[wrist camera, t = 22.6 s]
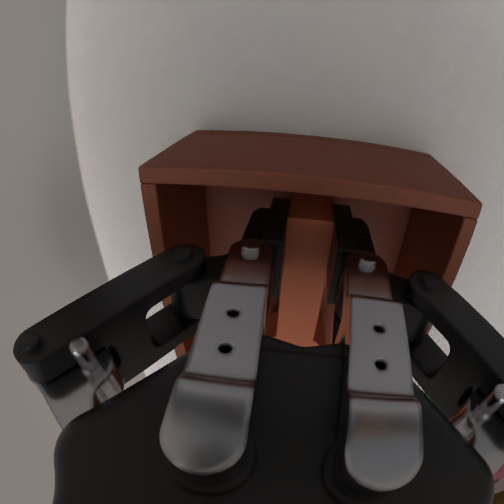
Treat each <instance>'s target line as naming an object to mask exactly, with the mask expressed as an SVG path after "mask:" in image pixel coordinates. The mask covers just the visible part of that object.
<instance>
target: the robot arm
mask: <svg viewBox="0 0 504 504" xmlns="http://www.w3.org/2000/svg"><path fill="white" fill-rule="evenodd" d="M290 201H291V199H287V198H276V197H273V200H272V203H271V206H270V208H260V207H259V208H258V209H257V210H255V211H254V212H252V215H251V217H250V220H249V222H248V225H247V227H246V229H245V232H244V234H243V237H242V239H241V240H239V241H237V242H235V243H234V244H232V245H231V247H230V249H229V252H228V254H225V255H220V256H210V257H205V251H204V250H203V249H202V248H201V247H200V246H198V245H194V244H180V245H176V246H173V247H171V248H169V249H167V250H165V251H163V252H162V253H160V254H158V255H156V256H154V257H152V258H150V259H149V260H147V261H145V262H143V263H141V264H139V265H137V266H136V267H134V268H132V269H130V270H128V271H127V272H125V273H123V274H121V275H119V276H118V277H116V278H114V279H112V280H110V281H109V282H107V283H105V284H103V285H101V286H100V287H98V288H96V289H94V290H93V291H91V292H89V293H87V294H86V295H84V296H82V297H81V298H79V299H77V300H75V301H73V302H72V303H70V304H68V305H67V306H65V307H63V308H62V309H60V310H58V311H57V312H55V313H53V314H51V315H50V316H48V317H46V318H45V319H43V320H41V321H40V322H38V323H36V324H35V325H33V326H31V327H30V328H28V329H27V330H25V331H24V332H23V333H21V334H20V336H19V337H18V338H17V340H16V342H15V344H14V348H13V353H14V356H15V358H16V359H17V361H18V362H19V364H20V365H21V366H22V368H23V369H24V370H25V372H26V373H27V375H28V377H29V378H30V380H31V381H32V382H33V384H34V385H35V386H36V387H37V388H38V390H39V391H40V392H41V393H42V394H43V396H44V398H45V400H46V402H47V404H48V405H49V407H50V409H51V411H52V413H53V415H54V416H55V418H56V419H57V421H58V423H59V425H60V427H61V428H62V430H63V431H62V432H61V433H60V435H59V437H58V440H57V442H56V446H55V450H54V468H55V490H54V499H53V504H492V503H493V498H494V489H495V488H494V479H493V475H494V474H495V473H496V472H497V471H498V470H499V469H500V468H501V466H502V465H503V464H504V338H503V337H502V336H501V335H500V334H499V333H498V332H497V331H496V330H495V329H494V327H493V326H492V325H491V324H490V323H489V322H488V321H487V320H486V319H485V318H484V317H482V316H481V315H480V314H479V313H478V312H477V311H476V310H475V309H474V308H473V307H472V306H471V305H470V304H469V303H468V302H467V301H466V300H465V299H464V298H463V297H462V296H460V295H459V294H458V293H457V292H456V291H455V290H454V289H453V288H452V287H451V286H450V285H448V284H447V283H446V282H445V281H444V280H443V279H442V278H441V277H439V276H438V275H436V274H435V273H433V272H430V271H427V270H415V271H413V272H412V273H411V274H410V276H409V279H406V278H403V277H400V276H397V275H394V274H392V273H390V272H388V270H387V265H386V263H385V261H384V260H383V259H382V258H381V257H380V256H378V255H376V252H375V249H374V245H373V241H372V239H371V234H370V231H369V227H368V225H367V224H366V223H365V222H364V221H363V220H362V219H361V218H354V217H353V216H352V212H351V208H350V205H342V204H332V205H333V213H334V221H335V223H334V230H333V236H332V242H331V248H330V254H329V259H328V265H327V304H335V309H334V313H333V317H332V325H331V337H330V344H328V345H320V346H310V347H301V346H297V345H294V344H291V343H288V342H285V341H282V340H279V339H276V338H273V337H270V336H267V335H266V331H267V321H268V312H269V306H270V304H271V300H272V297H273V298H278V297H279V291H280V285H281V279H282V273H283V267H284V256H285V244H286V232H287V219H288V212H289V207H290ZM169 296H171V301H172V303H171V304H169V305H167V306H166V307H164V308H163V309H161V310H160V311H158V312H157V313H155V314H154V315H152V316H150V317H149V318H147V319H146V315H147V312H148V311H149V310H150V308H152V307H153V306H154V305H156V304H157V303H159V302H161V301H162V300H164V299H165V298H167V297H169ZM431 323H432V324H433V325H434V326H435V328H436V329H437V330H438V331H439V332H440V333H441V334H442V335H443V336H444V337H445V338H446V339H447V341H448V342H449V345H450V353H449V355H448V356H447V355H446V354H445V353H444V352H443V351H442V350H441V349H440V347H439V346H438V345H437V344H436V343H435V342H434V341H433V340H432V339H431V337H430V336H429V335H428V334H427V333H426V332H427V330H428V328H429V327H430V325H431ZM195 333H196V334H195ZM194 334H195V337H194V340H193V343H192V346H191V349H190V351H189V352H187V353H185V354H184V355H182V356H180V357H179V358H177V359H176V360H174V361H172V362H171V363H169V364H167V365H166V366H164V367H162V368H161V369H159V370H157V371H156V372H154V373H152V374H151V375H149V376H147V377H146V378H144V379H142V380H141V381H139V382H137V383H135V384H134V385H132V386H130V387H129V388H127V389H126V390H123V389H124V384H125V383H127V382H128V381H130V380H131V379H132V378H134V377H135V376H137V375H138V374H139V373H141V372H142V371H144V370H145V369H147V368H148V367H149V366H151V365H152V364H154V363H155V362H156V361H158V360H159V359H161V358H162V357H163V356H165V355H166V354H167V353H169V352H170V351H172V350H173V349H174V348H176V347H177V346H179V345H180V344H181V343H183V342H184V341H185V340H187V339H188V338H189V337H191V336H192V335H194ZM412 376H413V377H414V379H415V380H416V381H417V382H418V384H419V385H420V386H421V387H422V389H423V390H424V391H425V393H426V394H427V395H428V396H429V398H430V399H431V400H432V401H431V400H430V399H429V398H428V397H427V396H426V395H425V394H424V393H423V391H422V390H421V389H420V388H419V387H418V386H417V385H416V384H415V383H414V382H413V379H412Z"/></svg>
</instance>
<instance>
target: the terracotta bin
mask: <svg viewBox="0 0 504 504" xmlns="http://www.w3.org/2000/svg"><path fill="white" fill-rule="evenodd" d="M139 176H140V182H141V183H142V184H141V190H142V197H143V204H144V210H145V216H146V222H147V228H148V233H149V239H150V244H151V250H152V255H153V257H154V256H156V255H158V254H160V253H162V252H163V251H165V250H167V249H169V248H171V247H173V246H176V245H180V244H194V245H198V246H200V247H201V248H202V249H203V250H204V251H205V257H210V256H220V255H225V254H228V252H229V249H230V247H231V245H232V244H234V243H235V242H237V241H239V240H241V239H242V237H243V234H244V232H245V229H246V227H247V225H248V222H249V220H250V217H251V215H252V212H254V211H255V210H257V209H258V208H259V207H260V208H270V206H271V203H272V200H273V197H276V198H287V199H290V194H291V193H296V194H306V195H316V196H325V197H332V199H333V204H342V205H350V208H351V212H352V216H353V217H354V218H361V219H362V220H363V221H364V222H365V223H366V224H367V225H368V227H369V231H370V234H371V239H372V241H373V245H374V249H375V252H376V255H378V256H380V257H381V258H382V259H383V260H384V261H385V263H386V265H387V270H388V272H390V273H392V274H394V275H397V276H400V277H403V278H406V279H409V276H410V274H411V273H412V272H413V271H415V270H427V271H430V272H433V273H435V274H436V275H438V276H439V277H441V278H442V279H443V280H444V281H445V282H446V283H447V284H448V285H450V286H451V287H452V284H453V282H454V280H455V277H456V275H457V273H458V270H459V268H460V266H461V263H462V261H463V258H464V256H465V253H466V251H467V248H468V245H469V243H470V240H471V237H472V235H473V232H474V229H475V226H476V223H477V219H478V217H479V214H480V211H481V208H482V203H481V202H480V201H479V200H478V199H477V198H476V197H475V196H474V195H473V194H472V193H471V192H470V191H469V190H468V189H467V188H466V187H465V186H464V185H463V184H462V183H461V182H460V181H459V180H458V179H457V178H455V177H454V176H453V175H452V174H451V173H450V172H449V171H448V170H447V169H446V168H444V167H443V166H442V165H441V164H440V163H439V162H438V161H436V160H435V159H434V158H433V157H432V156H431V155H429V154H425V153H420V152H416V151H411V150H405V149H400V148H395V147H389V146H383V145H377V144H371V143H364V142H357V141H350V140H343V139H335V138H326V137H317V136H307V135H296V134H283V133H268V132H248V131H195V132H193V133H191V134H190V135H188V136H186V137H185V138H183V139H181V140H180V141H178V142H176V143H175V144H173V145H172V146H170V147H169V148H167V149H165V150H164V151H162V152H161V153H159V154H158V155H156V156H155V157H153V158H152V159H150V160H149V161H147V162H146V163H144V164H143V165H141V166H140V167H139ZM280 286H281V285H280ZM279 297H280V291H279ZM279 297H278V298H273V297H272V300H271V304H270V306H269V312H268V316H269V315H271V314H272V313H274V312H276V311H278V308H279ZM162 301H163V306H164V307H166V306H167V305H169V304H171V303H172V301H171V296H169V297H167V298H165V299H164V300H162ZM334 309H335V304H327V278H326V283H325V288H324V293H323V298H322V303H321V308H320V312H319V318H320V319H321V320H322V321H323V323H324V325H325V328H326V345H328V344H330V337H331V325H332V317H333V313H334ZM432 325H433V324H432V323H431V325H430V327H429V328H428V330H427V332H426V333H427V334H428V333H429V331H430V329H431V327H432ZM195 334H196V333H195ZM195 334H194V335H192V336H191V337H189V338H188V339H187V340H185V341H184V342H183V343H181V344H180V345H179V346H177V347H176V348H174V349H175V352H176V356H177V358H179V357H180V356H182V355H184V354H185V353H187V352H189V351H190V349H191V346H192V343H193V340H194V337H195Z"/></svg>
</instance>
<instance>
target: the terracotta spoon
mask: <svg viewBox="0 0 504 504" xmlns="http://www.w3.org/2000/svg"><path fill="white" fill-rule="evenodd" d="M290 199H291V201H290V207H289V212H288V219H287V232H286V244H285V256H284V267H283V273H282V279H281V286H280V297H279V308H278V311H276V312H274V313H272V314H271V315H269V316H268V321H267V331H266V335H267V336H270V337H273V338H276V339H279V340H282V341H285V342H288V343H291V344H294V345H297V346H301V347H310V346H320V345H326V328H325V325H324V323H323V321H322V320H321V319H320V318H319V312H320V308H321V303H322V298H323V293H324V288H325V283H326V278H327V265H328V259H329V254H330V248H331V242H332V236H333V230H334V223H335V221H334V213H333V205H332V204H333V199H332V197H325V196H316V195H306V194H296V193H291V194H290Z"/></svg>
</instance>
